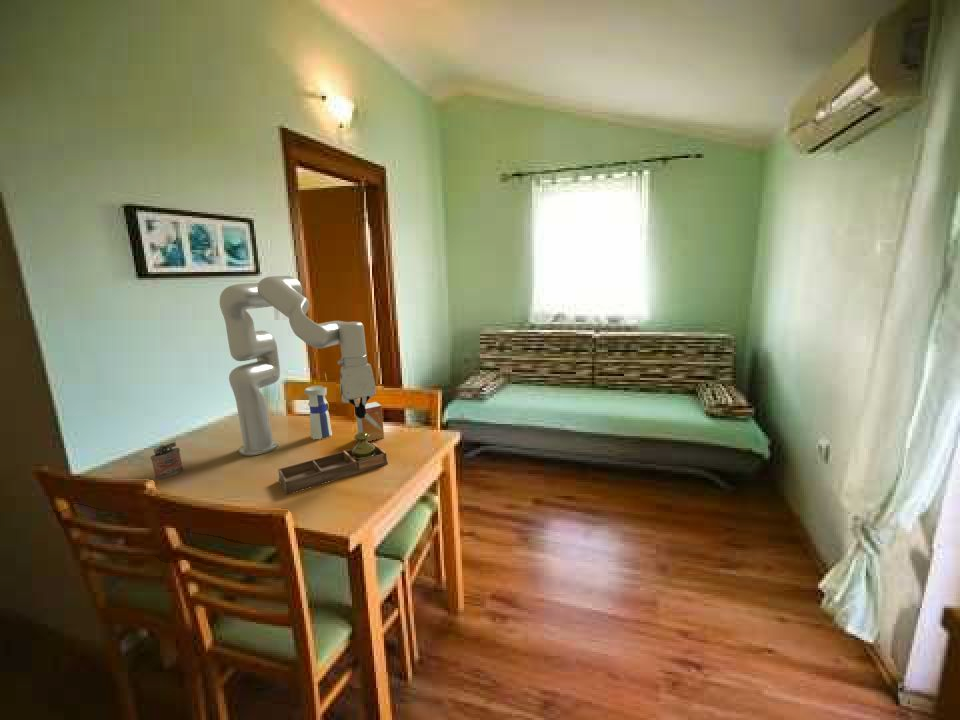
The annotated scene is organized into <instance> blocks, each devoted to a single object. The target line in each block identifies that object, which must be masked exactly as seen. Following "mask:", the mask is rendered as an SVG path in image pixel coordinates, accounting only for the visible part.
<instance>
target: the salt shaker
mask: <svg viewBox="0 0 960 720" xmlns="http://www.w3.org/2000/svg"><path fill="white" fill-rule="evenodd" d="M353 437H354V439H355V440H357V442H358V443H357V444H356V445H354V447H353V448H352V454H353V456H352V457H353V459H354V460H355V461H359V460H363V459H366V458H370V457H373V456H376V453H375V452H374V451H375V446H374V445H372V443H370V441H369V442H367V439H368V438H369V437H370V434H369V433H367V432H364V431H362V432H359V433H358V432H357V433H356V434H355V435H354V436H353Z"/></svg>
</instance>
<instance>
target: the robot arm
mask: <svg viewBox="0 0 960 720" xmlns="http://www.w3.org/2000/svg"><path fill="white" fill-rule="evenodd" d="M219 307H220V311H221V314H222V316H223V320H224V323H225V329H226V335H227V342H228V348H229V352H230V356H231V357H232V359H234V361H236V362H247V361H251V360H255V359H256V361H253V362H249V363H246V364H242V365H239V366H237V367H235V368H233V369H232V370H231V371H230V373H229V376H228V381H229V385H230V387H231V390H232V393H233V395H234V398H235V399H234V400H235V404H236V409H237V415H238V421H239V425H240V433H241V439H242V444H243V445H241V447H240V448H239V449H238V450H239V452H238V453H239V454H240V455H243V456H249V457H251V456H258V455H263V454H266V453H269V452H271V451H273V450H276V449H277V447H278V445H279V444H278V441H277V440H275V439H273V436H272V435H273V434H272V429H271V427H272V426H271V422H270V415H269V408H268V402H267V399H266V397H265V395H264V394H263V393H262V392H261V390H260V389H261V388H264V387H267V386H270V385H272V384H275V383H276V382H277V381H278V380H279V379H280V375H281V366H280V359H279V358H280V357H279V353H278V352H279V351H278V346H277V345H278V344H277V341H276V339H275V337H274V336H273V335H272V334H271V333H270V332H269V331H267V330H255V323H254V319H253V318H252V316H251V315H250V313H249V312H248V310H252V309H263V308H269V307H273V308H274V309H276V310H277V311H278V312H279V313H281V314H282V315H283V316H285V317H286V318H288V323H289V325H290V326H289V327H290V329H291V330H292V332H293V333H294V335H295V336H296V337H297V338H299V339H300V340H301V341H303V342H304V343H305V344H307V345H309V346H310V347H312V348H314V349H325V348H329V347H333V346H337V345H340V352H341V357H340V359H339V360H337V365H338V366H339V365H342V366H340V371H339V372H340V374H339V382H340V383H339V387H340V396H341V402H342V403H343V404H351V405H353V408H354V415H355V416H357V417H358V418H360V419H361V418H365V414H366V410H365V405H366V404H367V403H368V401H369V400H370V399H372V398H374V397H376V392H377V391H376V390H377V389H376V388H377V387H376V383H375V377H374V373H373V369H372V366H371V364H370V363H368V356H367V355H368V354H367V345H366V335H365V326H364V323H362V322H361V321H343V320H332V321H325V322H321V323H317V322H315V321H313V320H312V319H311V318H309V316H307V315H306V314H307V313H308V311H309V309H310V301H309V299H308V298H307V297H306V296H304V295H303V286H302V284H301V282H300V281H299V280H298V279H297V278H295V277H294V276H291V275H276V276H275V275H272V276H267V277H264V278H262V279H260V281H259V282H254V283H253V282H252V283H251V282H250V283H248V282H247V283H238V284H237V283H236V284H233V285H232V284H231V285H229V286H227V287H225V288H224V289H223V290H222V291H221V293H220V296H219ZM357 417H356V418H357Z"/></svg>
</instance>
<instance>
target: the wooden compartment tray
mask: <svg viewBox="0 0 960 720" xmlns="http://www.w3.org/2000/svg"><path fill="white" fill-rule="evenodd" d="M371 444H372V445H374V446H375V451H374V452H375V453H376V456H373V457H370V458H366V459H363V460H359V461H355V460H354V459H353V457H352V456H353V454H352V449H353V448H352V449H347V450H345V449H344V450H342V451H340V452H336V453H333V454H328V455H325V456H322V457H317V458H315V459H310V460H307V461H303V462H299V463H295V464H293V465H289V466H284V467H282V468H278V469H277V471H278V482H279V483H280V485H282V486H281V487H282V489H283V491H284V490H285V491H284V492H286V493H285V494H286V495H287V494H289V495H291V494H290V493H292V494H294V493H293V492H295V493H297V492H296V491H298V492H300V491H299V490H302V489H305V490H307V489H306V488H308V489H310V488H309V487H311V488H314V487H313V486H315V487H317V486H316V485H318V486H320V485H319V484H321V485H323V484H322V483H325V482H328V481H331V482H333V481H332V480H334V481H336V480H335V479H338V480H339V478H341V479H343V478H342V477H344V478H347V477H350V475H351V476H353V474H354V475H356V473H357V474H360V473H364V472H367V471H369V470H373V469H376V468H379V467H382V466H386V465H388V464H389V461H388V460H387V452H386V451H385V450H384V449H382V448H381V447H380V446H379V445H378V444H376V443H374V442H371ZM366 470H367V471H366ZM363 471H364V472H363ZM359 472H360V473H359ZM346 476H347V477H346ZM328 483H329V482H328ZM325 484H326V483H325ZM302 491H303V490H302Z"/></svg>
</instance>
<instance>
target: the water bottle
mask: <svg viewBox="0 0 960 720" xmlns="http://www.w3.org/2000/svg"><path fill="white" fill-rule="evenodd" d="M324 377H325V381H326V382H327V381H328V378H327V373H324ZM327 390H328V388H327V387H324V386H323V385H321V384H320V385H311V386H308V387H306V388H305V389H304V395H307V396H308V404H307V406H308V407H309V426H310V438H311V439H312V438H314V439H313V440H315V439H319V440H322V439H321V438H325V439H327V438H326V437H328V438H330V437H331V436H332V435H333V432H332V425H331V418H330V413H329V409H330V405H329V403H328V401H327V399H326V396H327ZM330 435H331V436H330ZM329 436H330V437H329Z"/></svg>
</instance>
